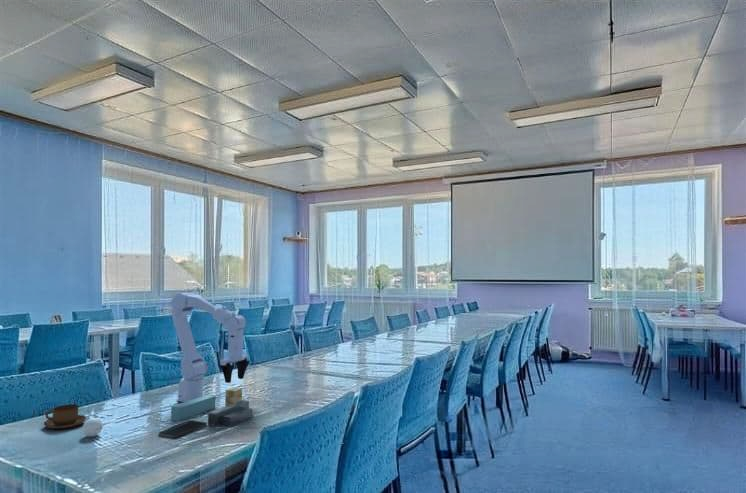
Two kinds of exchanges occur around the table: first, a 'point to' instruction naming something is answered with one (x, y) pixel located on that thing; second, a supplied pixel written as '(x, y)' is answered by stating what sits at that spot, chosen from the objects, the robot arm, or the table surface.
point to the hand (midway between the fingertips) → (234, 380)
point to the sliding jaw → (192, 407)
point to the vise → (230, 414)
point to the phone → (182, 429)
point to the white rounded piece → (92, 427)
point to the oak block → (233, 395)
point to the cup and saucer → (64, 417)
